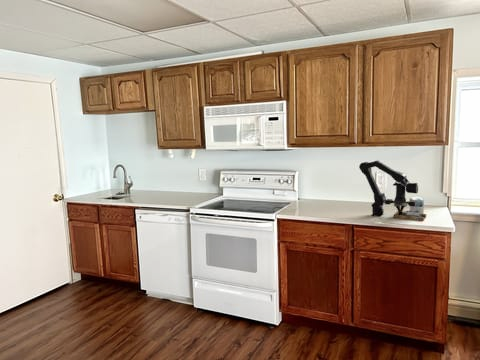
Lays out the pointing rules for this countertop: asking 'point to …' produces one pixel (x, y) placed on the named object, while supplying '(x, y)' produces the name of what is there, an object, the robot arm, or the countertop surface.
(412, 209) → the light bulb box
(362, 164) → the robot arm
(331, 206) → the countertop surface
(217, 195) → the countertop surface
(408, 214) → the cover plate
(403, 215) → the walnut box
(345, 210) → the countertop surface
